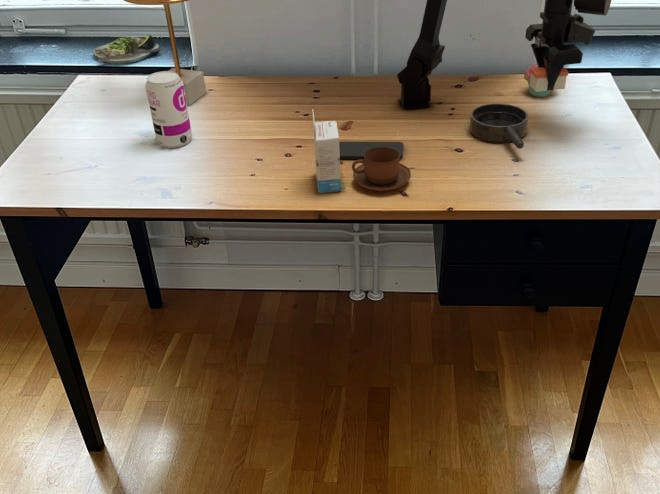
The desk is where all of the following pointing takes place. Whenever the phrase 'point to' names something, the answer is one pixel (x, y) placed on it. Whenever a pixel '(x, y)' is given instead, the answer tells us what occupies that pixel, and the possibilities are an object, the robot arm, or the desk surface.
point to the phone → (365, 148)
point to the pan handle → (514, 137)
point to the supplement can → (168, 109)
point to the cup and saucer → (381, 170)
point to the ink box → (327, 156)
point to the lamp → (190, 78)
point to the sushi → (541, 82)
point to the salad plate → (127, 50)
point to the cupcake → (539, 94)
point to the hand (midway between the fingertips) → (547, 82)
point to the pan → (497, 122)
